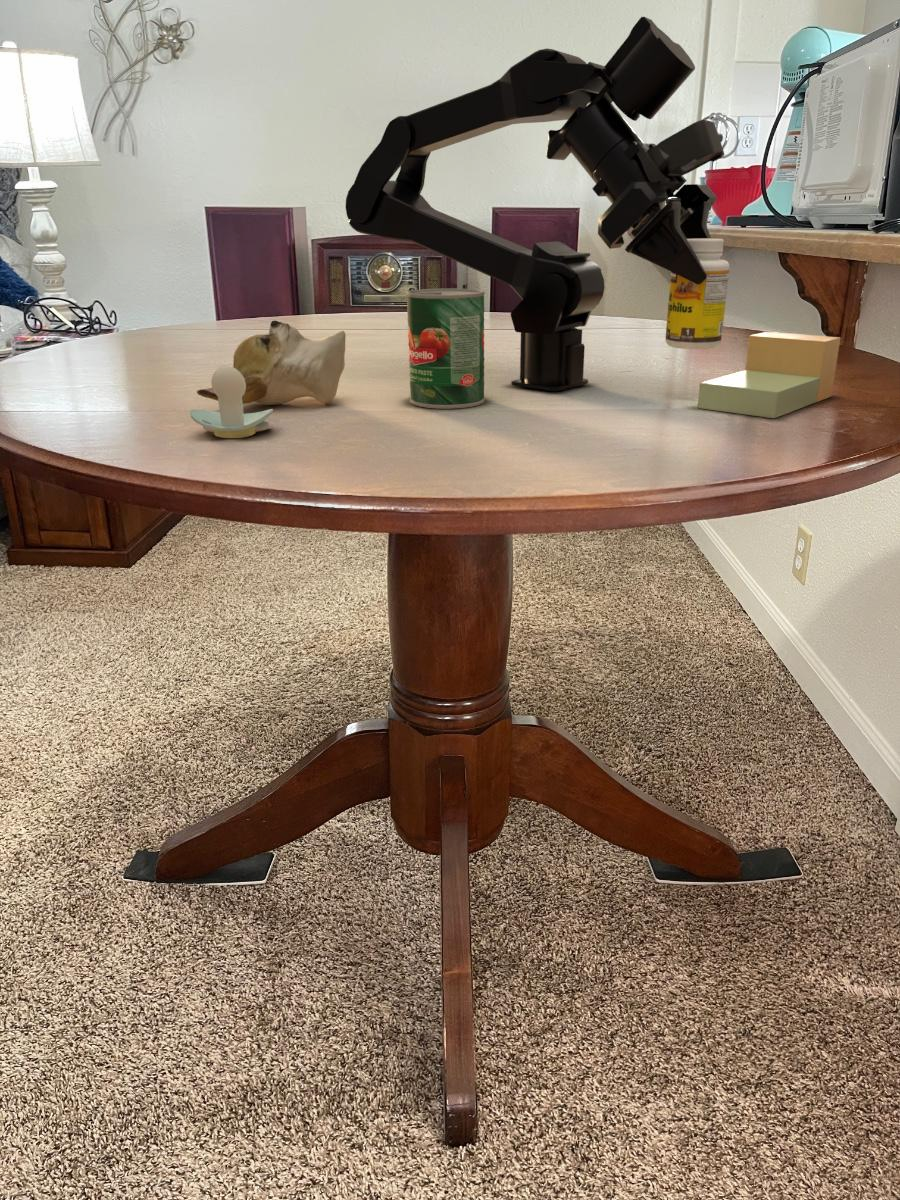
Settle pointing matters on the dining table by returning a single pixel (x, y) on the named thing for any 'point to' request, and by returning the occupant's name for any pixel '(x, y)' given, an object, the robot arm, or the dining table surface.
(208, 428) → the pacifier
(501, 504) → the dining table surface
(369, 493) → the dining table surface
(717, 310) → the supplement bottle
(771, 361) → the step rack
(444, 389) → the canned tomato
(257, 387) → the ceramic sculpture
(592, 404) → the dining table surface
